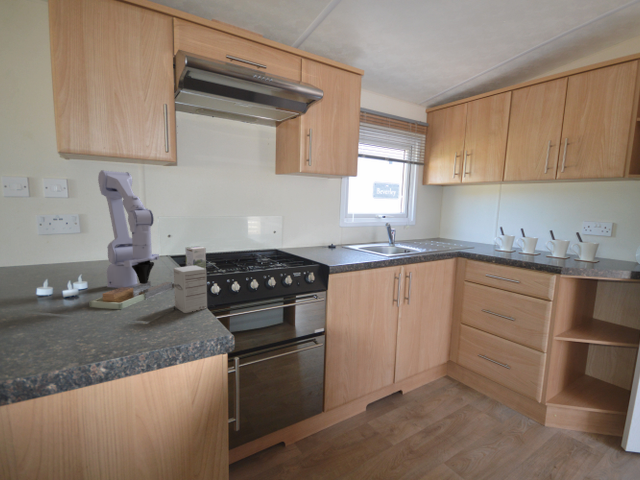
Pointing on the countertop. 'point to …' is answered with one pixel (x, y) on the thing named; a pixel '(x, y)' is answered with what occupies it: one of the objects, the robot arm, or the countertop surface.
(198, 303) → the supplement box
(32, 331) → the countertop surface
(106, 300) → the front copper block
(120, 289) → the rear copper block
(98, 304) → the tray
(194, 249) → the syrup box
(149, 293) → the aluminium slot
